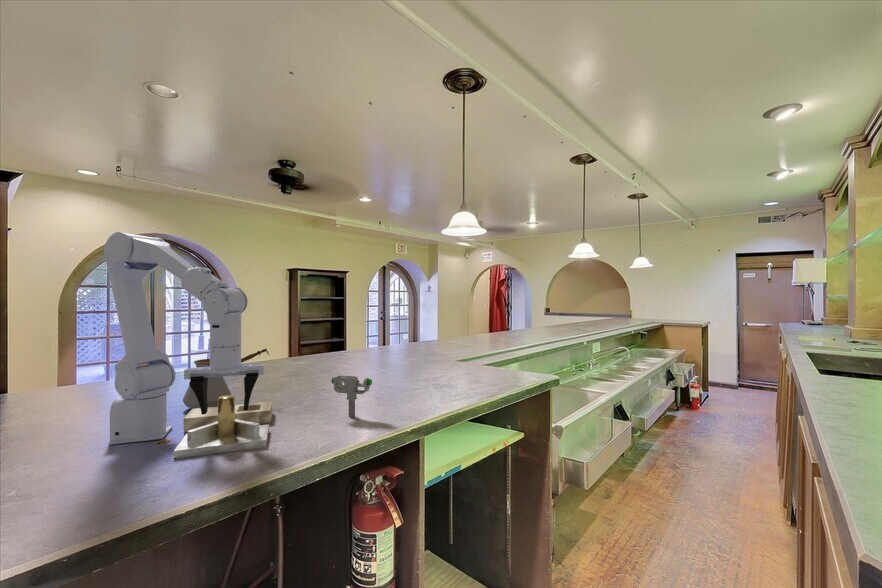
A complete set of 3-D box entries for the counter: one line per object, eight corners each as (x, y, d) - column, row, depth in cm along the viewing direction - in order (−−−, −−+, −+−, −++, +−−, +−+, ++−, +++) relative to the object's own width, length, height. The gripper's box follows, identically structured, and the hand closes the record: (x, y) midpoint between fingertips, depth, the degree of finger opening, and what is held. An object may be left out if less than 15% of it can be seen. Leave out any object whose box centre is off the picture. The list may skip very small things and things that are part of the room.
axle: (215, 438, 81) (215, 399, 81) (219, 433, 84) (219, 395, 84) (233, 437, 82) (233, 398, 82) (236, 432, 85) (236, 394, 85)
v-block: (173, 458, 75) (173, 437, 75) (187, 440, 84) (187, 421, 84) (266, 447, 80) (266, 427, 80) (269, 431, 90) (269, 413, 89)
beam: (183, 431, 89) (183, 418, 89) (192, 421, 96) (192, 408, 96) (270, 422, 95) (270, 410, 95) (272, 413, 103) (272, 401, 103)
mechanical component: (368, 419, 97) (368, 379, 97) (330, 417, 99) (330, 377, 99) (372, 416, 100) (373, 377, 100) (335, 413, 102) (335, 375, 102)
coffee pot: (182, 416, 100) (182, 357, 100) (182, 405, 110) (182, 351, 110) (272, 403, 112) (272, 350, 112) (265, 394, 121) (265, 346, 121)
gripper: (179, 350, 76) (179, 420, 76) (262, 346, 81) (262, 412, 81) (188, 345, 82) (188, 410, 82) (264, 342, 87) (264, 403, 87)
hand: (225, 411), depth 82 cm, fingers open, 7 cm apart
